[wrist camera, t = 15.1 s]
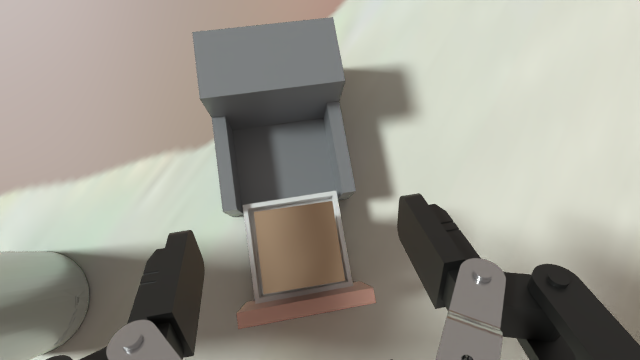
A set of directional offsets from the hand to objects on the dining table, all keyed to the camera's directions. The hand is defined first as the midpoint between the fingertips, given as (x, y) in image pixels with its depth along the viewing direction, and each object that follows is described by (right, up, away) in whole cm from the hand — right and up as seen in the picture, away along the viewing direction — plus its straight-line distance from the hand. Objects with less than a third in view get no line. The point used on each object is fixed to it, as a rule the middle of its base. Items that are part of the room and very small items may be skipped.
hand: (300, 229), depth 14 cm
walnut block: (-1, -4, +20) cm, 21 cm away
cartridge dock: (-3, +6, +24) cm, 25 cm away
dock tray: (-1, -5, +21) cm, 22 cm away
